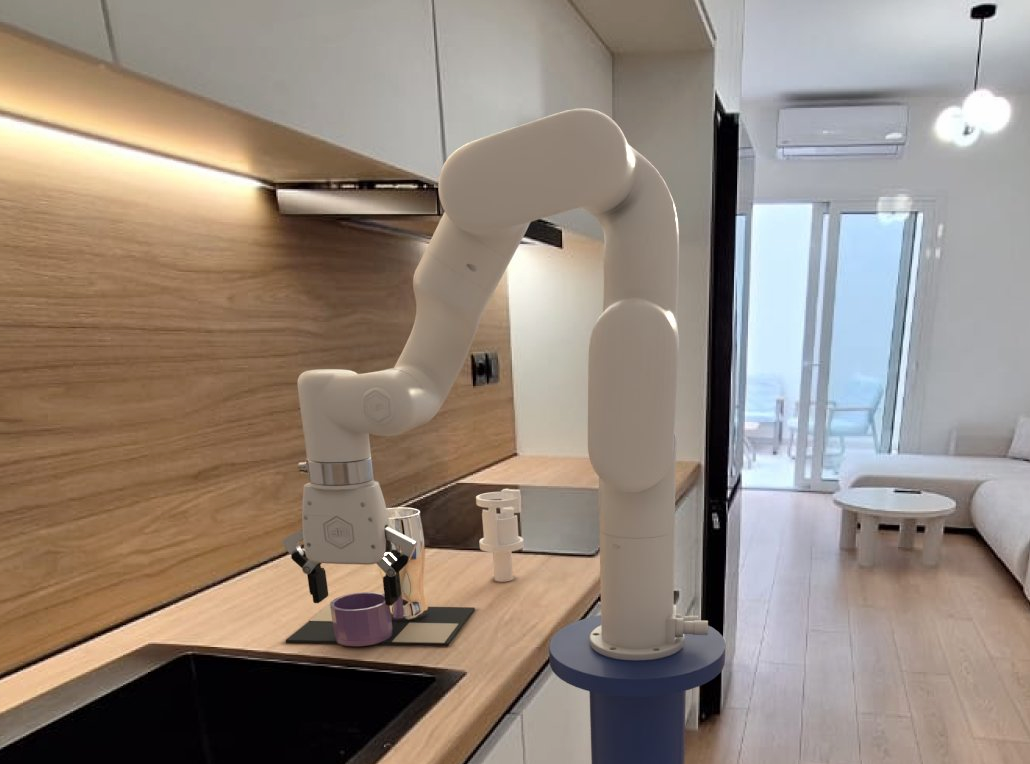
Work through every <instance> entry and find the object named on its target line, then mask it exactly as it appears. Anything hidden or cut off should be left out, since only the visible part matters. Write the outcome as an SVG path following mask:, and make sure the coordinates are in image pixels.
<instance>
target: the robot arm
mask: <svg viewBox="0 0 1030 764" xmlns="http://www.w3.org/2000/svg"><path fill="white" fill-rule="evenodd" d="M437 186H438V197H439V198H438V199H439V202H440V204H441V207H442V209H443V211H444V212H443V214H442V215H441V218H440V220H439V222H438V225H437V226H436V229H435V231H434V232H433V235H432V237H431V239H430V241H429V242H428V245H427V247H426V248H425V251H424V252H423V254H422V256H421V259H420V261H419V262H418V265H417V266H416V268H415V270H414V274H413V278H412V287H413V288H412V289H413V293H414V299H415V304H416V305H415V307H416V311H415V312H416V313H415V318H414V323H413V326H412V329H411V331H410V334H409V337H408V339H407V341H406V343H405V345H404V347H403V349H402V351H401V354H400V355H399V357H398V359H397V361H396V363H395V365H394V366H393V367H391V368H386V369H382V370H377V371H372V372H371V371H370V372H365V373H357V372H356V371H353V370H350V369H340V368H339V369H338V368H337V369H336V368H326V369H325V368H324V369H323V368H322V369H321V368H320V369H312V370H305V371H303V372H301V373H300V374H299V376H298V378H297V393H298V394H297V395H298V400H299V408H300V416H301V424H302V431H303V437H304V445H305V454H306V459H305V461H304V462H303V461H302V462H298V464H297V471H298V472H299V473H300V474H305V475H307V479H308V481H309V482H308V483H305V484H304V485H303V491H302V503H301V506H302V507H301V511H302V512H301V513H302V514H301V520H302V521H301V522H302V529H299V530H298V531H295V532H294V533H292V534H290V535H289V536H287V537H285V538H283V539H282V541H281V542H282V545H283V546H284V547H285V549H286V551H287V553H288V554H290V557H291V560H292V561H293V562H294V563H295V564H297V565H298V567H300V568H301V570H302V573H304V575H307V582H308V590H309V594H310V595H311V596H312V602H313V604H320V603H321V602H323V601H324V600H325V599H326V598H328V597H329V589H328V588H329V587H328V581H327V573H326V569H325V567H322V564H331V565H333V564H334V565H365V566H366V565H374V564H376V566H377V567H378V566H379V567H380V568H381V569H382V570H383V571H384V572H385V573H386V576H384V577H383V581H382V585H383V594H384V595H385V604H386V605H387V606H392V605H393V604H394V603H395V602H396V601H397V600H398V598H399V597H400V596H401V585H400V575H399V571H400V570H402V568H403V567H404V566H405V565H406V564H407V563H408V562H409V561H410V560H411V557H412V555H413V553H414V550H415V548H416V546H417V542H416V541H415V540H413V539H411V538H409V537H407V536H405V535H403V534H401V533H399V532H397V531H395V530H394V529H392V528H390V524H389V518H388V514H387V509H388V508H387V505H386V502H385V498H384V495H383V491H382V488H381V486H380V485H381V484H380V482H379V481H377V480H374V471H373V460H372V451H371V442H370V435H373V436H379V437H395V436H400V435H403V434H406V433H408V432H410V431H412V430H413V429H415V428H418V427H421V426H423V425H426V424H427V423H429V422H430V421H432V419H433V418H434V417H436V416H437V414H438V412H439V411H440V409H441V408H442V406H443V404H444V403H445V401H446V399H447V397H448V395H449V394H450V392H451V390H452V388H453V386H454V384H455V383H456V381H457V380H458V377H459V375H460V373H461V370H463V369H462V368H463V367H464V364H465V362H466V360H467V357H468V354H469V353H470V349H471V347H472V344H473V342H474V339H475V337H476V334H477V332H478V328H479V325H480V321H481V318H482V316H483V314H484V312H485V310H486V309H487V306H488V305H489V302H490V301H491V299H492V297H493V295H494V293H495V291H496V289H497V287H498V286H499V284H500V282H501V280H502V278H503V276H504V274H505V272H506V270H507V269H508V266H509V265H510V263H511V261H512V259H513V257H514V255H515V253H516V251H517V250H518V248H519V246H520V244H521V243H522V241H523V238H524V236H525V235H526V233H527V230H528V228H529V226H530V225H531V223H532V222H535V221H538V220H541V219H545V218H548V217H551V216H556V215H559V214H561V213H562V214H563V213H566V212H568V211H572V210H576V209H580V210H581V211H583V212H586V213H588V214H590V215H592V216H594V217H595V218H596V220H598V222H599V224H600V226H601V229H602V232H603V235H604V236H603V240H604V243H603V245H604V246H603V247H604V248H603V302H602V303H603V305H602V313H601V314H600V315H599V317H598V318H597V320H596V321H595V323H594V325H593V327H592V331H591V335H590V338H589V346H588V368H587V370H588V371H587V372H588V373H587V375H588V376H587V377H588V378H587V379H588V380H587V453H588V458H589V461H590V464H591V466H592V469H593V470H594V472H595V474H596V475H597V477H598V532H599V534H598V537H599V541H598V542H599V577H600V578H599V579H600V581H599V582H600V584H599V585H600V615H601V626H599V627H597V628H596V629H594V630H593V631H592V632H591V634H590V645H591V647H592V648H593V649H594V650H595V651H596V652H598V653H599V654H601V655H604V656H607V657H610V658H614V659H620V660H629V661H645V660H654V659H660V658H664V657H667V656H670V655H672V654H675V653H676V652H678V651H679V650H681V649H682V647H683V646H684V644H685V635H684V634H694V635H708V625H709V621H708V620H699V615H682V613H677V604H675V603H674V601H675V599H674V598H675V597H674V595H675V592H674V591H675V528H676V471H677V432H676V431H677V430H676V427H675V425H676V407H677V406H676V405H677V389H678V367H679V366H678V365H679V353H680V334H679V329H678V328H679V327H678V326H679V325H678V310H679V309H678V306H679V284H680V283H679V281H680V280H679V266H680V265H679V263H680V261H679V260H680V232H679V231H680V229H679V219H678V213H677V209H676V205H675V201H674V199H673V196H672V193H671V190H670V189H669V187H668V185H667V183H666V181H665V180H664V178H663V176H662V175H661V173H660V172H659V170H658V169H657V168H656V167H655V166H654V165H653V163H651V161H650V160H648V159H647V158H646V157H645V156H644V155H642V154H641V153H640V152H639V151H638V150H636V149H635V148H634V147H632V145H630V144H629V143H628V141H627V138H626V136H625V134H624V132H623V130H622V129H621V127H619V125H618V124H617V122H616V121H615V120H613V119H612V118H611V117H610V116H608V115H607V114H606V113H604V112H602V111H599V110H597V109H592V108H586V107H585V108H572V109H566V110H563V111H560V112H555V113H554V114H550V115H548V116H545V117H541V118H538V119H535V120H533V121H530V122H527V123H523V124H521V125H518V126H514V127H511V128H508V129H505V130H502V131H499V132H495V133H493V134H489V135H486V136H483V137H481V138H478V139H475V140H472V141H469V142H467V143H465V144H463V145H462V146H460V147H459V148H457V149H455V150H454V151H453V152H451V154H450V155H449V156H448V157H447V158H446V160H445V161H444V163H443V165H442V167H441V170H440V173H439V179H438V185H437ZM300 542H303V548H304V549H302V547H301V544H300ZM392 543H394V544H396V545H398V546H400V547H401V548H402V552H401V555H400V557H399V558H398V559H396V558H395V557H394V556H393V555H392V554H391V551H392Z"/></svg>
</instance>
